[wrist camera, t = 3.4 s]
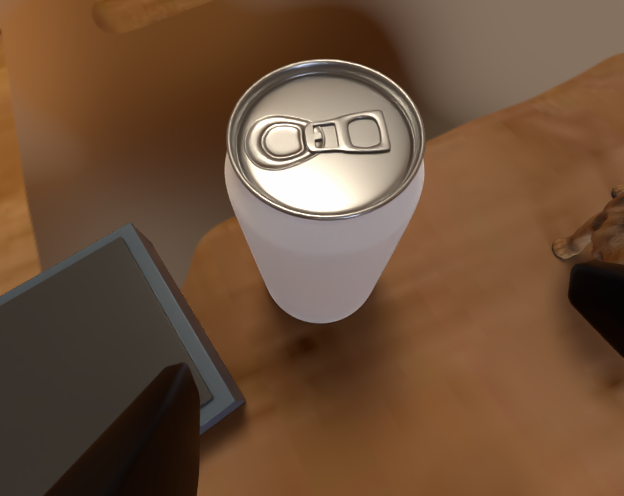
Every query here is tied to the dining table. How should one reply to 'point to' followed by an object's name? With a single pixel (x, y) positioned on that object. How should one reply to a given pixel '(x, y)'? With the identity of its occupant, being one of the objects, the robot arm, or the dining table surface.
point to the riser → (93, 355)
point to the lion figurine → (599, 233)
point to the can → (324, 181)
